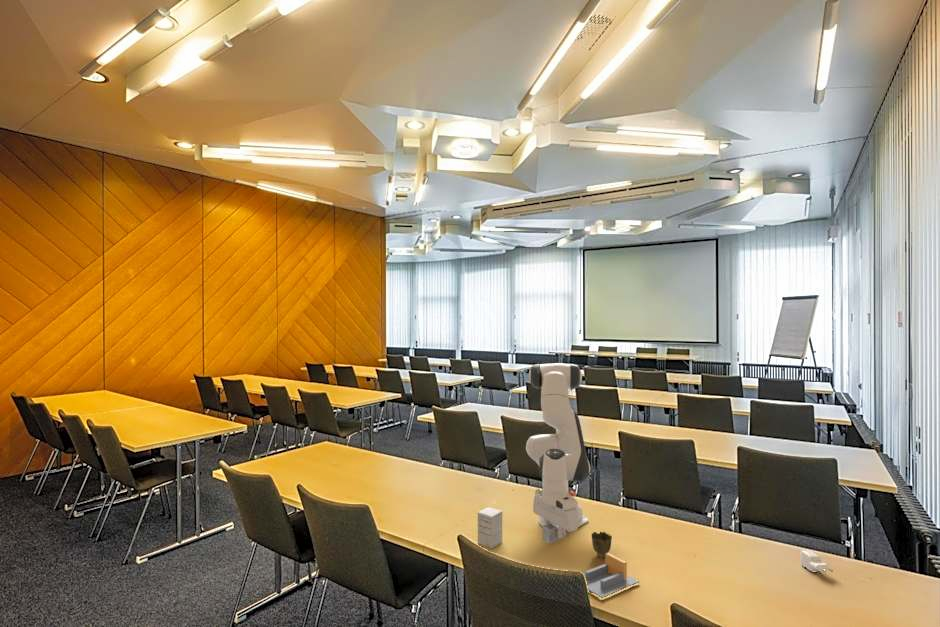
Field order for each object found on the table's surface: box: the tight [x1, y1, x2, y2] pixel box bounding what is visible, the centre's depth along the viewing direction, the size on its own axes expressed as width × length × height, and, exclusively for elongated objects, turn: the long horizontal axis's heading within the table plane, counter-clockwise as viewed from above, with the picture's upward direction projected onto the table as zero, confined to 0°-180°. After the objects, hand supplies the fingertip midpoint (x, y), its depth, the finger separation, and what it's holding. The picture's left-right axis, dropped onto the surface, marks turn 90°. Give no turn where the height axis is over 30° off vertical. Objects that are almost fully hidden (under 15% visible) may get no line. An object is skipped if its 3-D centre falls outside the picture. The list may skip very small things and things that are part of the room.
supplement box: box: [477, 506, 503, 549], centre depth 201 cm, size 7×7×13 cm
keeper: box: [582, 552, 640, 598], centre depth 171 cm, size 18×14×7 cm
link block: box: [542, 523, 567, 544], centre depth 181 cm, size 8×4×5 cm, turn 123°
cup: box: [591, 531, 613, 559], centre depth 191 cm, size 8×7×8 cm
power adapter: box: [799, 549, 834, 573], centre depth 179 cm, size 11×5×6 cm, turn 6°
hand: (554, 534), depth 181 cm, fingers closed on link block, 3 cm apart
